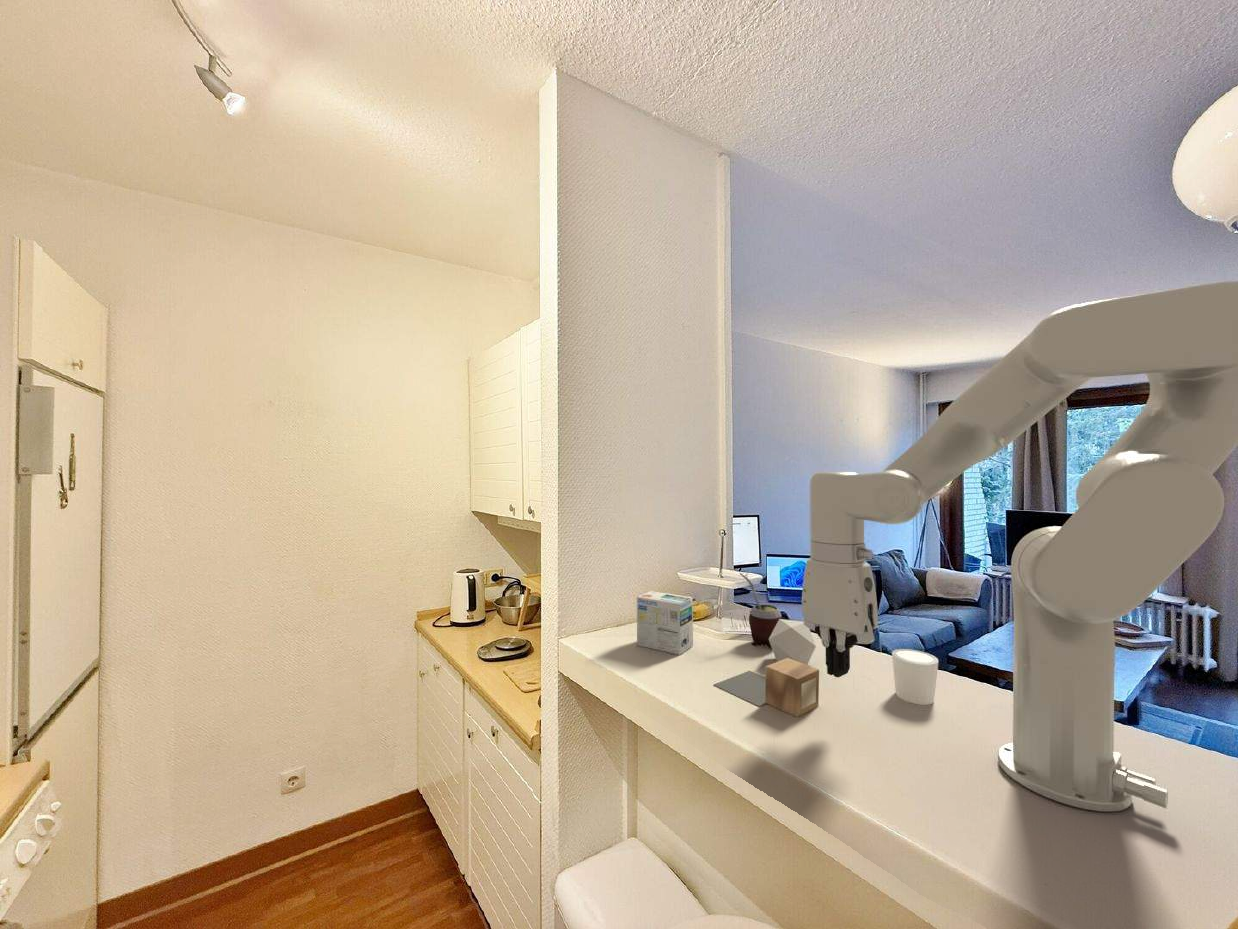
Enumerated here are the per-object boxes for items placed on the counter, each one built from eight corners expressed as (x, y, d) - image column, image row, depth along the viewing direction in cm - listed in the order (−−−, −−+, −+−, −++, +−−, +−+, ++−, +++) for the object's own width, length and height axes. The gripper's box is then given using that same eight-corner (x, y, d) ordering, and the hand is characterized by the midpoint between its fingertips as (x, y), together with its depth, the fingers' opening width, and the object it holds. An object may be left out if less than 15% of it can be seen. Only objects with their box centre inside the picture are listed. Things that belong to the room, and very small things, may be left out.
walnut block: (819, 669, 82) (787, 657, 87) (798, 679, 79) (765, 666, 84) (818, 706, 83) (786, 692, 87) (797, 717, 79) (764, 702, 84)
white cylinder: (943, 709, 82) (943, 666, 81) (895, 703, 84) (895, 660, 84) (932, 691, 88) (932, 651, 88) (888, 685, 90) (888, 646, 90)
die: (819, 662, 102) (793, 615, 107) (832, 655, 94) (803, 605, 99) (781, 679, 101) (757, 631, 106) (791, 674, 94) (764, 622, 98)
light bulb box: (694, 646, 110) (694, 596, 109) (680, 656, 104) (680, 603, 104) (650, 636, 115) (650, 589, 115) (635, 646, 109) (635, 596, 109)
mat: (795, 690, 88) (795, 689, 88) (759, 707, 82) (759, 706, 82) (749, 671, 96) (749, 670, 96) (713, 685, 90) (713, 684, 90)
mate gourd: (788, 648, 108) (789, 578, 108) (755, 651, 106) (755, 580, 106) (770, 636, 115) (770, 570, 115) (738, 639, 113) (738, 572, 113)
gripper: (899, 557, 73) (900, 684, 73) (807, 544, 85) (807, 653, 85) (873, 563, 69) (874, 699, 69) (779, 549, 81) (780, 664, 81)
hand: (837, 673), depth 77 cm, fingers closed
